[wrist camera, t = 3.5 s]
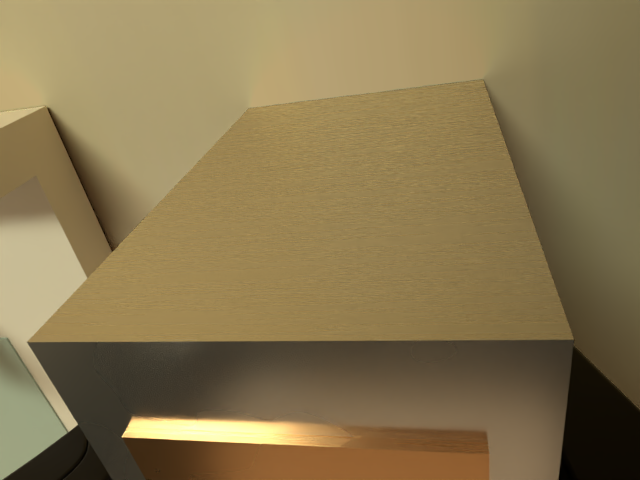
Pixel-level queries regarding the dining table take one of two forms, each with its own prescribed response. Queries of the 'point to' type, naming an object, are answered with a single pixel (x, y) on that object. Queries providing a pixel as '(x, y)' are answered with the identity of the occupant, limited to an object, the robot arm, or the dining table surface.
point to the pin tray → (37, 274)
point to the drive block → (327, 307)
